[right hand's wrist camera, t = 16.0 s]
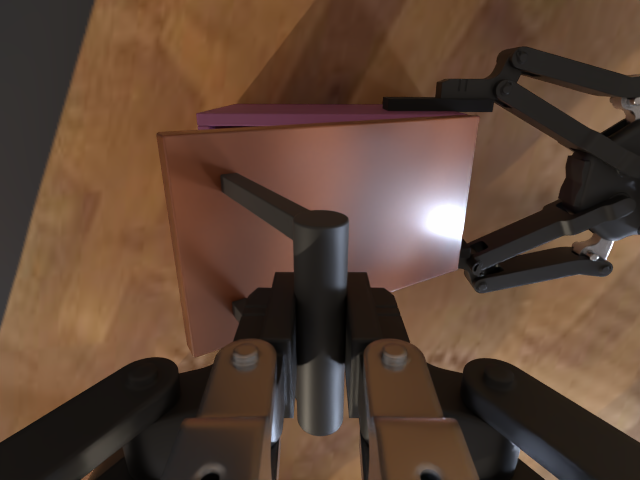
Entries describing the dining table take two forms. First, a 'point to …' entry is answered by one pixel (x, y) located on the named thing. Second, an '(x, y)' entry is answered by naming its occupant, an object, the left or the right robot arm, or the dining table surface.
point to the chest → (300, 114)
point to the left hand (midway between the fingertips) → (380, 179)
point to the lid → (312, 227)
